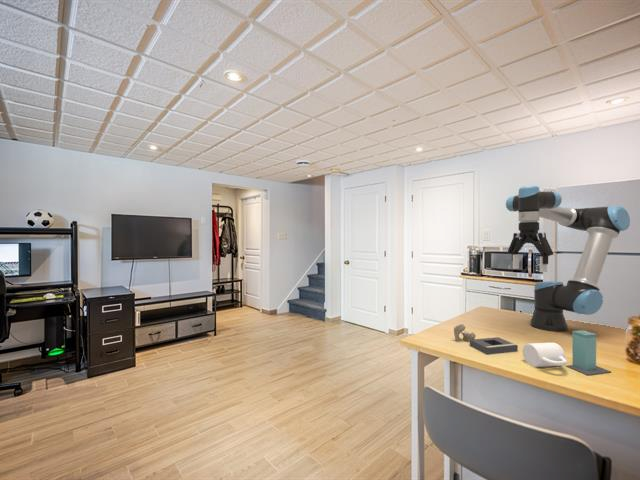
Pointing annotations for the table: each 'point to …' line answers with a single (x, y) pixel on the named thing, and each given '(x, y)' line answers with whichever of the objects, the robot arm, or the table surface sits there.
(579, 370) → the mat
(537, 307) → the robot arm
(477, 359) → the table surface
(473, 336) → the bone
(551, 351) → the mug
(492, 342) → the grey socket block
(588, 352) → the plug
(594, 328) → the table surface
